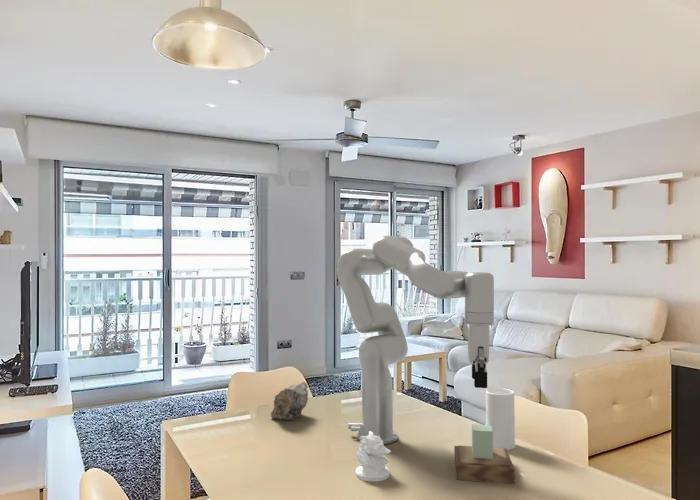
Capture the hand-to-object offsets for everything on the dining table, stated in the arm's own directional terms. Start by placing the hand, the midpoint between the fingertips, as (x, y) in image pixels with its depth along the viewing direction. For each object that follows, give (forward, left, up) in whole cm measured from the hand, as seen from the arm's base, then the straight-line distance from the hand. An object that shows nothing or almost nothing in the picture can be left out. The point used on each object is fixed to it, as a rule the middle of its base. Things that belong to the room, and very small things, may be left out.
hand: (479, 383), depth 133 cm
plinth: (+1, -1, -22) cm, 22 cm away
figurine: (-27, -8, -23) cm, 36 cm away
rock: (-62, +35, -23) cm, 75 cm away
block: (+1, -1, -18) cm, 18 cm away
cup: (+8, +19, -23) cm, 30 cm away
